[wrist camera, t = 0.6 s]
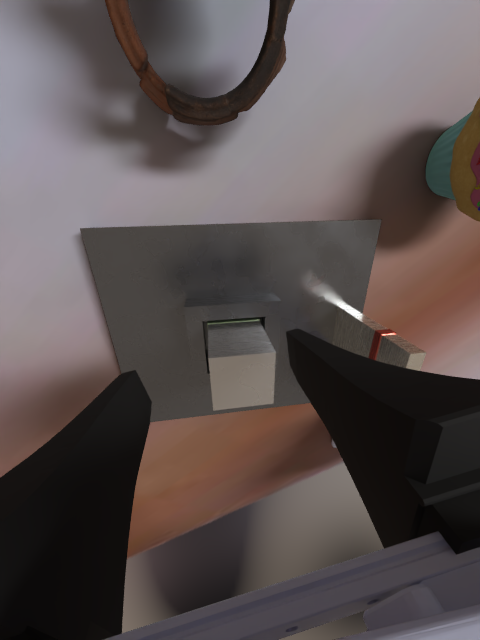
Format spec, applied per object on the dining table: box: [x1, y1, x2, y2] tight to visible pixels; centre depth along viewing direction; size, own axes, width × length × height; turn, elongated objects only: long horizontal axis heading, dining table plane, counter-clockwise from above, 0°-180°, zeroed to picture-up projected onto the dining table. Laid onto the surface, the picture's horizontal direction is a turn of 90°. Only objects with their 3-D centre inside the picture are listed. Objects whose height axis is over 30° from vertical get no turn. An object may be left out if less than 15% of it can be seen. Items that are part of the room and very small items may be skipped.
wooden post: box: [207, 317, 276, 411], centre depth 17 cm, size 4×4×6 cm
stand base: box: [80, 219, 426, 422], centre depth 17 cm, size 18×22×9 cm
